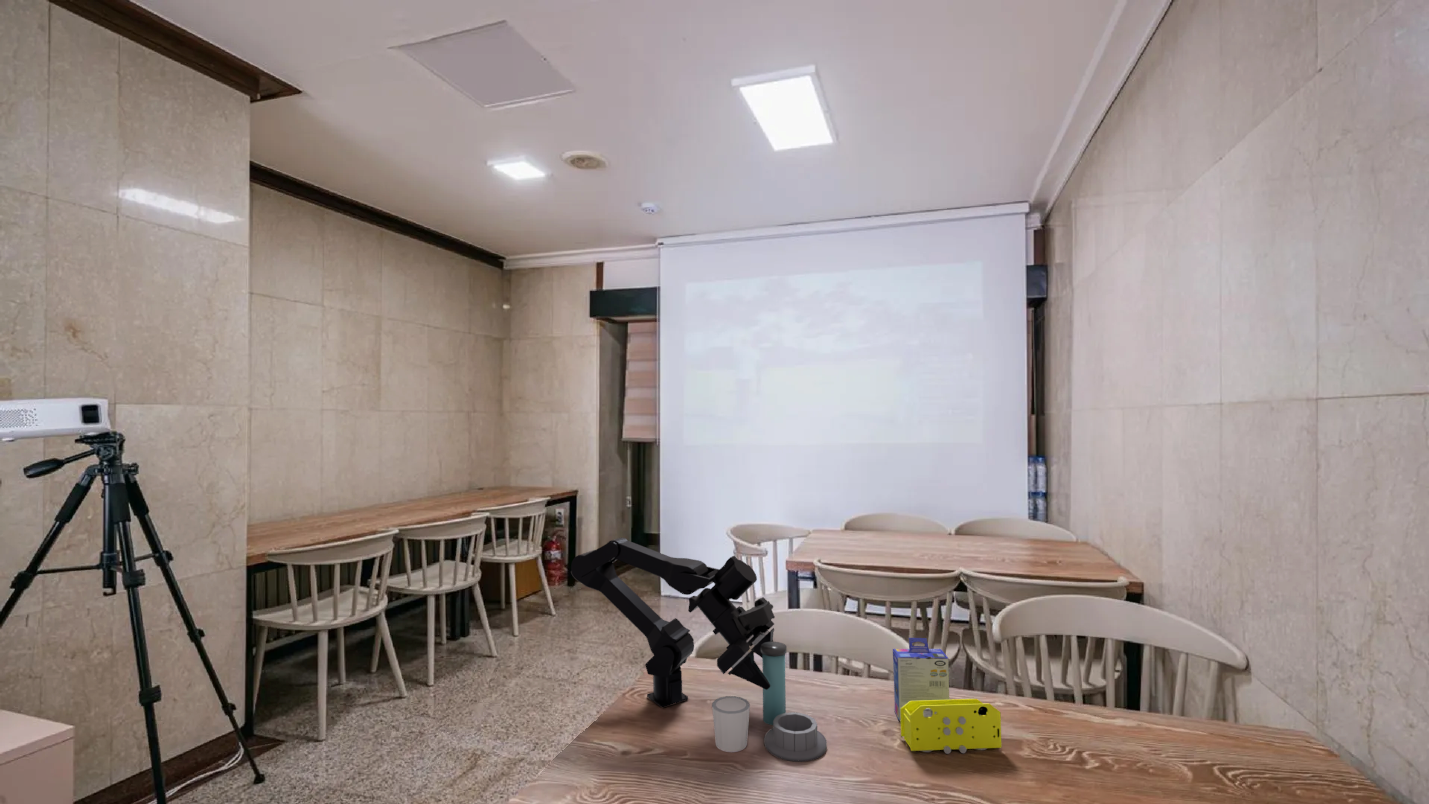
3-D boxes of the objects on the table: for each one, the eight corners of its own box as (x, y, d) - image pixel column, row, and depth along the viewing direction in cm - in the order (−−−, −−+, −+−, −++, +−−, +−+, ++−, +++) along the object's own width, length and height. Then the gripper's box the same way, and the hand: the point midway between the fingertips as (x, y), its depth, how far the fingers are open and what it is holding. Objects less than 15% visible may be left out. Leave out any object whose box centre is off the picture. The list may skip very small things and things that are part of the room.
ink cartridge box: (943, 710, 120) (941, 636, 120) (952, 723, 114) (950, 646, 115) (892, 708, 121) (891, 635, 121) (899, 722, 115) (897, 645, 116)
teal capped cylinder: (756, 718, 117) (755, 645, 118) (775, 711, 120) (774, 639, 120) (773, 728, 113) (772, 653, 113) (792, 720, 116) (791, 647, 116)
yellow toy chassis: (912, 757, 103) (911, 707, 104) (900, 739, 109) (899, 693, 109) (1003, 753, 104) (1001, 704, 104) (986, 736, 110) (985, 690, 110)
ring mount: (751, 741, 109) (751, 719, 109) (796, 722, 115) (796, 702, 115) (794, 769, 100) (793, 745, 100) (839, 747, 106) (839, 725, 106)
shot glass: (747, 756, 104) (747, 714, 104) (708, 751, 105) (708, 711, 105) (752, 735, 111) (752, 697, 111) (716, 732, 112) (715, 693, 112)
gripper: (731, 601, 111) (790, 671, 106) (764, 577, 128) (816, 636, 123) (693, 639, 114) (749, 709, 109) (730, 610, 131) (779, 670, 126)
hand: (776, 678), depth 117 cm, fingers open, 9 cm apart
